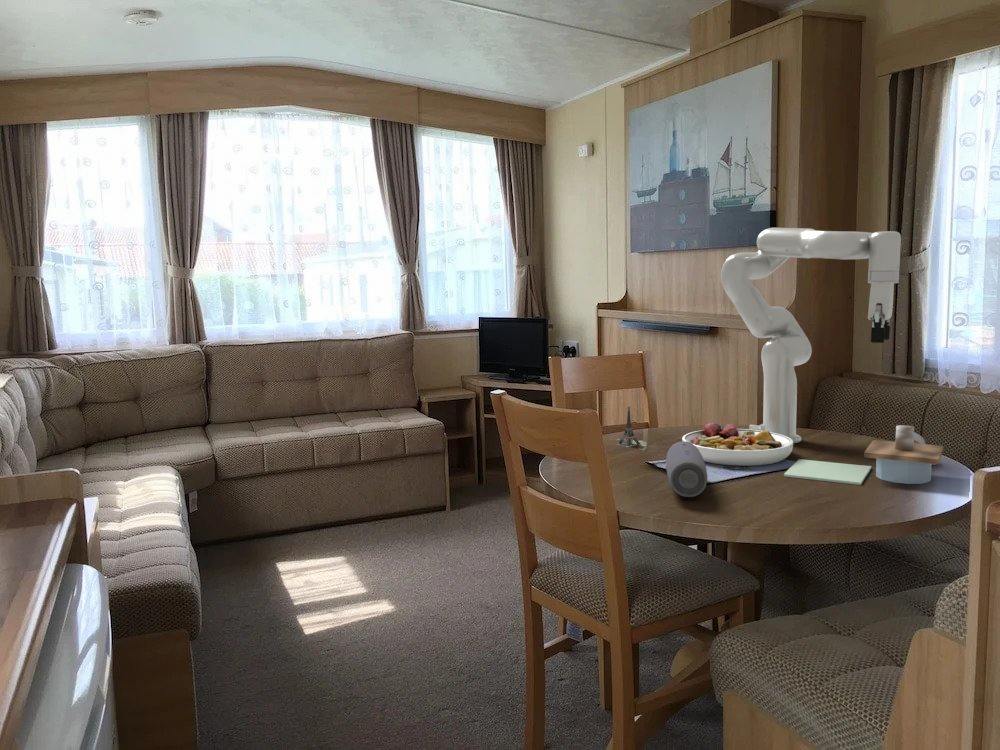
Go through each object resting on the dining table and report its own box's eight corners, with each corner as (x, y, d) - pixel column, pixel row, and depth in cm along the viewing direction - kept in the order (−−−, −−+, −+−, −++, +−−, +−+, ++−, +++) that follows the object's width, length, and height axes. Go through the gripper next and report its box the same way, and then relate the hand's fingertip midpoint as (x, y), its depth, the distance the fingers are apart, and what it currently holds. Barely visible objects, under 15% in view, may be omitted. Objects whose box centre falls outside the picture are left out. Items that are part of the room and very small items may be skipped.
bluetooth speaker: (664, 476, 205) (664, 438, 204) (701, 477, 204) (701, 439, 202) (667, 502, 183) (667, 459, 182) (709, 503, 181) (709, 460, 180)
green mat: (783, 476, 202) (783, 474, 202) (799, 461, 217) (799, 459, 217) (860, 485, 193) (860, 482, 193) (871, 468, 208) (871, 466, 208)
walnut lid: (864, 457, 195) (865, 429, 194) (873, 444, 209) (874, 418, 208) (938, 464, 187) (939, 435, 186) (942, 450, 200) (944, 423, 199)
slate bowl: (873, 480, 197) (874, 456, 196) (879, 469, 207) (880, 446, 206) (928, 486, 190) (929, 461, 189) (932, 474, 200) (933, 451, 200)
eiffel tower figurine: (646, 452, 235) (646, 407, 233) (611, 451, 237) (611, 407, 235) (648, 441, 249) (648, 399, 248) (615, 440, 252) (615, 399, 250)
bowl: (816, 461, 218) (817, 433, 217) (725, 474, 207) (726, 444, 206) (745, 440, 246) (745, 415, 245) (661, 451, 235) (661, 424, 234)
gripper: (873, 277, 225) (870, 337, 227) (862, 278, 210) (859, 343, 213) (902, 277, 221) (899, 338, 223) (894, 278, 206) (890, 344, 209)
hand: (880, 340), depth 218 cm, fingers open, 9 cm apart
